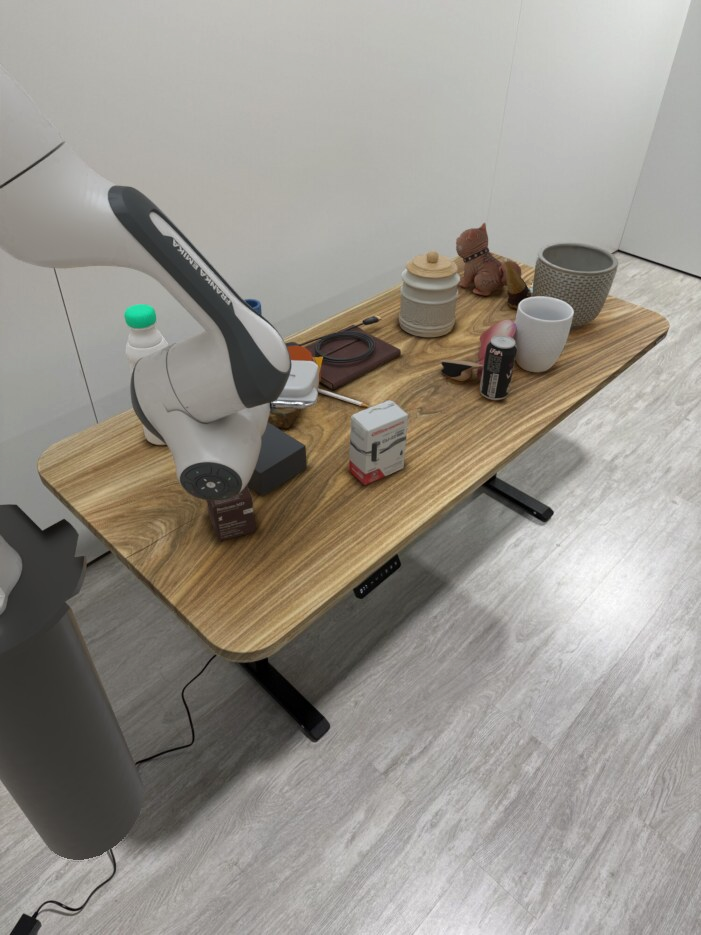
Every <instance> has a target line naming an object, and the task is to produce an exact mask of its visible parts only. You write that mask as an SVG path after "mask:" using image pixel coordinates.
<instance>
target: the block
mask: <svg viewBox="0 0 701 935" xmlns="http://www.w3.org/2000/svg"><path fill="white" fill-rule="evenodd" d="M307 468H308V467H307V446H306V444H304V443H302V442H301V441H299V440H298V439H296V438H295V437H293V436H292V435H290V434H287V433H286V432H285V431H283V430H281V428H277V427H275V426H273V425H272V424H270V423H268V422H267V426H266V429H265V432H264V434H263V436H262V437H261V449H260V453H259V457H258V461H257V464H256V467H255V469H254V472H253V474H252V476H251V479H250V480H249V482H248V484H247V487H248V488H249V489H251V490H253V491H254V492H256V493H257V494H259V495H260V496H261V497H265V496H266V495H267V494H269V493H270V492H272V491H274V490H275V489H277V488H278V487H280V486H282V485H283V484H284V483H287V481H289V480H290V479H293V478H294V477H295V476H297V475H298V474H300V473H301V472H303V471H304V470H306V469H307Z"/></svg>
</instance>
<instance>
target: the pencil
mask: <svg viewBox="0 0 701 935" xmlns="http://www.w3.org/2000/svg"><path fill="white" fill-rule="evenodd" d="M317 392H318V394H322V395H326V396H328V397H332V398H335V399H338V400H341V401H343V402H347V403H350V404H353V405H357V406H359V407H364V408H365V407H366V408H367V407H368V408H370V405H368V404H366V403H365V402H362V401H359V400H356V399H353V398H350V397H347V396H344V395H341V394H337V393H335V392H331V391H328V390H324V389H322V388H319V387H318V390H317Z"/></svg>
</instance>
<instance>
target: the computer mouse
mask: <svg viewBox="0 0 701 935" xmlns="http://www.w3.org/2000/svg"><path fill="white" fill-rule="evenodd" d="M439 363H440V365H441V366H442V367H441V368H440V372H441V373H442V374H443V375H445V376H446V377H448V378H449V379H452V380H456V381H460V382H464V381H466V380H468V379H470V377H471V376H472V373H473V371H474V369H478V368H481V367H483V365H481V364H477V363H478V362H473V361H467V360H459V359H441V360H439Z"/></svg>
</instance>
